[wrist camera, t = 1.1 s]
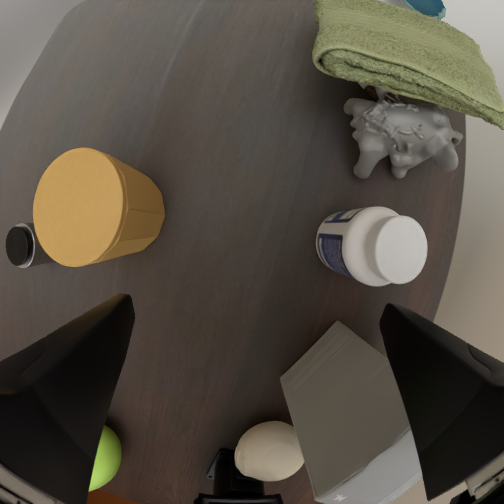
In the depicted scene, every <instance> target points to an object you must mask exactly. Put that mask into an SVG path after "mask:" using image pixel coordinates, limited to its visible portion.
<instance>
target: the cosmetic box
mask: <svg viewBox="0 0 504 504" xmlns="http://www.w3.org/2000/svg"><path fill="white" fill-rule="evenodd" d="M280 382H281V385H282V389H283V392H284V396H285V399H286V402H287V406H288V409H289V412H290V415H291V419H292V422H293V425H294V429H295V432H296V435H297V439H298V442H299V445H300V448H301V452H302V455H303V458H304V461H305V465H306V468H307V472H308V475H309V478H310V482H311V486H312V490H313V494H314V499H315V501H318V502H321V503H325V504H389V503H390V502H392V501H393V500H395V499H396V498H397V497H399V496H400V495H401V494H403V493H404V492H405V491H407V490H408V489H409V488H410V487H411V486H413V485H414V484H415V483H416V482H418V481H419V480H420V479H421V478H422V477H423V476H422V471H421V467H420V463H419V458H418V454H417V450H416V446H415V442H414V438H413V435H412V431H411V428H410V424H409V421H408V417H407V414H406V411H405V407H404V404H403V401H402V398H401V395H400V392H399V389H398V386H397V383H396V380H395V377H394V374H393V371H392V369H391V366H390V363H389V360H388V359H387V358H386V357H384V356H383V355H382V354H380V353H379V352H378V351H376V350H375V349H374V348H373V347H371V346H370V345H369V344H368V343H367V342H365V341H364V340H363V339H361V338H360V337H359V336H358V335H356V334H355V333H354V332H353V331H351V330H350V329H349V328H348V327H346V326H345V325H344V324H342V323H341V322H340V321H338V320H337V321H336V322H335V323H334V324H333V325H332V326H331V327H330V328H329V329H328V330H327V332H326V333H325V334H324V335H323V336H322V337H321V338H320V339H319V340H318V341H317V342H316V343H315V344H314V345H313V346H312V347H311V348H310V349H309V350H308V351H307V352H306V353H305V354H304V355H303V356H302V357H301V358H300V359H299V360H298V361H297V362H296V363H295V364H294V365H293V366H292V367H291V368H290V369H289V370H287V371H286V372H285V373H284V374H283V375H282V376H281V377H280Z"/></svg>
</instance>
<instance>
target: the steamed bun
mask: <svg viewBox="0 0 504 504" xmlns="http://www.w3.org/2000/svg"><path fill="white" fill-rule="evenodd" d="M303 463H304V458H303V455H302V452H301V448H300V445H299V442H298V439H297V435H296V432H295V429H294V427H293V426H291V425H289V424H287V423H284V422H281V421H269V422H264V423H261V424H258V425H256V426H254V427H252V428H251V429H249V430H248V431H246V432H245V433H244V435H243V436H242V437H241V438H240V440H239V442H238V445H237V447H236V450H235V465H236V467H237V468H238V469H239V470H240V472H241V473H242V474H243V475H245V476H248V477H252V478H255V479H258V480H262V481H279V480H282V479H285V478H287V477H289V476H291V475H293V474H294V473H295V472H297V471H298V470H299V469H300V468H301V466H302V465H303Z"/></svg>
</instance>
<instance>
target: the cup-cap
mask: <svg viewBox="0 0 504 504" xmlns="http://www.w3.org/2000/svg"><path fill="white" fill-rule="evenodd" d="M164 217H165V210H164V204H163V197H162V193H161V191H160V190H159V189H158V188H157V186H156V185H155V184H154V183H153V181H152V180H151V179H150V178H149V177H148V176H146V175H144V174H142V173H141V172H139V171H137V170H135V169H134V168H132V167H130V166H128V165H126V164H125V163H123V162H121V161H119V160H117V159H116V158H114V157H112V156H110V155H109V154H106V153H102V152H99V151H97V150H94V149H91V148H77V149H73V150H70V151H68V152H66V153H64V154H62V155H61V156H59V157H58V158H57V159H56V160H54V161H53V162H52V163H51V165H50V166H49V167H48V168H47V170H46V171H45V173H44V174H43V176H42V178H41V180H40V182H39V184H38V187H37V190H36V194H35V198H34V205H33V221H34V227H35V231H36V235H37V237H38V240H39V242H40V244H41V246H42V247H43V249H44V250H45V252H46V253H47V254H48V255H49V256H50V257H51V258H52V259H53V260H55V261H56V262H58V263H60V264H62V265H65V266H69V267H79V266H84V265H88V264H93V263H98V262H101V261H105V260H109V259H113V258H116V257H120V256H124V255H128V254H132V253H135V252H139V251H143V250H144V249H145V248H146V247H147V246H148V245H149V244H150V243H151V242H152V241H153V240H155V239H156V238H157V237H158V235H159V232H160V229H161V226H162V223H163V220H164Z"/></svg>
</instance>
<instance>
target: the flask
mask: <svg viewBox="0 0 504 504" xmlns="http://www.w3.org/2000/svg"><path fill="white" fill-rule="evenodd" d="M6 252H7V255H8V258H9V260H10V261H11V263H12V264H14V265H16V266H18V267H20V268H27V267H32V266H36V265H41V264H45V263H50V262H54V261H55V260H53V259H52V258H51V257H50V256H49V255H48V254H47V253H46V252H45V250H44V249H43V247H42V246H41V244H40V242H39V240H38V237H37V235H36V231H35V227H34V223H19V224H17V225H16V226H15V227H13V228H12V229H11V230H10V231H9V233H8V235H7V239H6Z"/></svg>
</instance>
